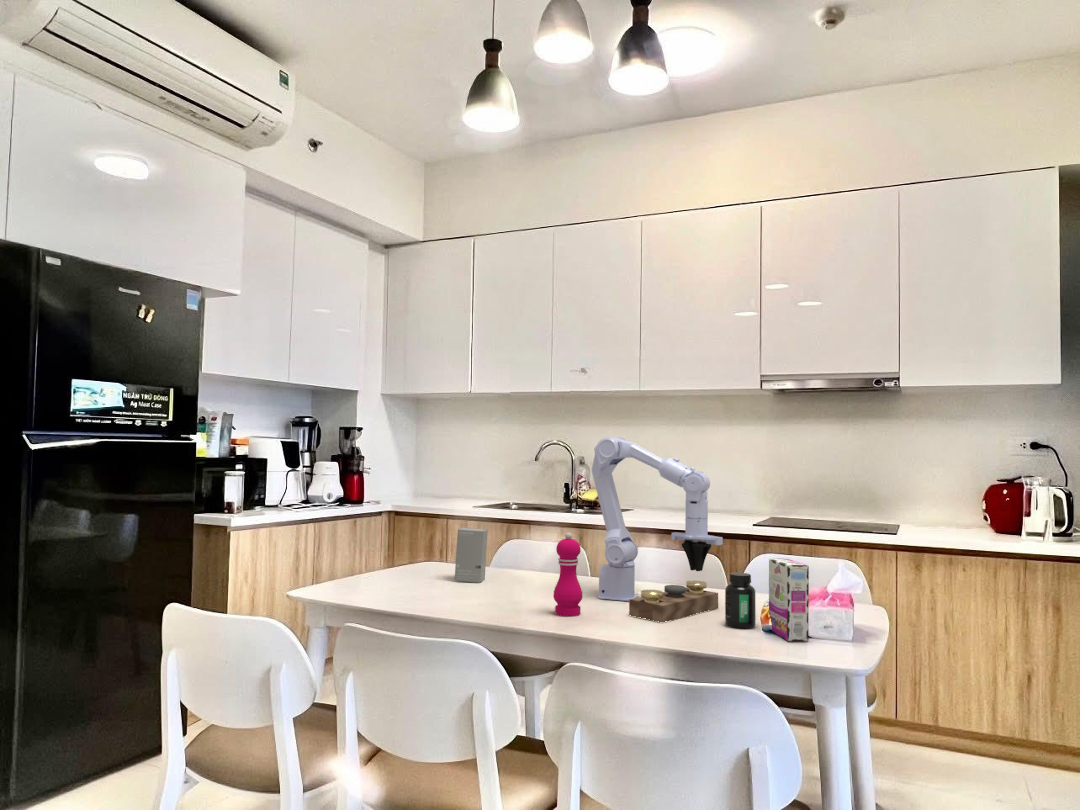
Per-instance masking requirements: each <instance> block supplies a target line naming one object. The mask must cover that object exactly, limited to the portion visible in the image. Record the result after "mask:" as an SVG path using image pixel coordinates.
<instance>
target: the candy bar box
mask: <svg viewBox="0 0 1080 810" xmlns="http://www.w3.org/2000/svg"><path fill="white" fill-rule="evenodd" d="M768 568H769V569H768V616H769V615H770V618H771V622H772V631H771V632H772V633H774V634H775V635H776V636H778V637H779V638H782V639H783V640H785V641H786V642H789V643H790V642H791V643H794V642H795V643H797V642H799V643H800V642H801V643H802V642H803V643H804V642H809V641H810V639H809V634H810V633H809V631H810V630H809V620H810V619H809V614H810V613H809V612H810V611H809V605H810V604H809V592H810V590H809V589H810V588H809V587H810V585H809V583H810V579H809V578H810V577H809V574H810V573H809V572H810V567H809V565H807V564H804V563H801V562H798V561H796V560H793V559H790V558H781V557H780V558H769V559H768Z"/></svg>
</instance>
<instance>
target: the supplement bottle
mask: <svg viewBox="0 0 1080 810" xmlns="http://www.w3.org/2000/svg"><path fill="white" fill-rule="evenodd" d="M728 580H729V582H730V583H729V584H728V585H726V587H725V589H724V591H725V592H724V593H725V594H724V599H725V600H724V605H725V607H724V610H725V611H724V616H725V617H724V620H725V622H724V623H725V625H726V626H727V627H728V628H732V629H737V630H750V629H754V628H755V627H756V617H757V616H756V610H757V609H756V589H755V587H754V586H753V585H751V583H752V575H751V574H750V573H748V572H747V573H746V572H730V573H729V579H728Z"/></svg>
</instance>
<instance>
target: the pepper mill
mask: <svg viewBox="0 0 1080 810" xmlns="http://www.w3.org/2000/svg"><path fill="white" fill-rule="evenodd" d="M564 537H565V538H562V539H561V540H560V541H558V543H557V544H556V553H557V555H558V557H559V558H558V565H559V578H558V579H557V580H558V581H557V582H556V584H555V586H554V590H553V600H554V601H555V602H556V605H555V606H554V611H555V612H554V614H555V615H557V616H560V615H561V617H576V615H577V616H579V614H581V606H580V605H579V604H580V603H581V602H582V600H583V597H584V596H583V590H582V587H581V585H580V583H579V579H578V575H577V566H578V565H579V558H578V556H579V555H580V554H581V544H580V543H579V542H578V540H575V539H574V538H573V535H572V532H566V533H565V534H564Z"/></svg>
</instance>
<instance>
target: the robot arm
mask: <svg viewBox="0 0 1080 810" xmlns="http://www.w3.org/2000/svg"><path fill="white" fill-rule="evenodd" d="M626 458H629V459H631V458H632V459H635V460H637V461H639V462H641V463H643V464H645V465H647V466H650V467H651V468H653V469H656V470H658V473H659V475H660V477H661V478H663V479H665V480H667V481H668V482H670V483H672V484H674V485H676V486H678V487H680V488H683V490H684V491H685V519H684V523H685V524H684V525H685V526H684V527H685V531H684V532H677V531H675V532H671V540H672V541H682V542H683V543H681V547H682V549H683V551H684V553H685V555H686V559H687V560H688V564H689V569H690V571H695V572H702V571H703V568H704V565H705V560H706V558H707V555H708V554H709V551H710V550H711V548H712V545H715V546H722V545H724V543H723V536H718V535H717V536H715V535H710V534H708V531H709V529H708V524H709V523H708V521H709V520H708V518H709V517H708V516H709V515H708V513H709V511H708V507H709V505H708V502H709V501H708V490H709V489H710V486H711V480H710V478H709V476H708V475H707V474H706V473H705V472H703V471H700V470H699V471H695V470H696V468H695V467H693V466H691V467H690V466H687V465H686V464H684V463H681V462H680V459H679V458H677V457H674V458H672V457H669V458H665V459H664V458H663V457H660V456H658V455H657V454H655V453H653V452H651V451H650V450H648V449H647V448H645V447H644V446H643V447H642V445H639V444H638V443H635V442H633V441H631V440H627V439H626V438H623V437H610V436H606V437H603V438H601V439H600V440H599V441H598V442H597V444H596V445H595V447H594V457H593V462H592V466H591V474H592V479H593V481H594V485H595V486H594V487H595V489H596V494H597V497H598V501H599V506H600V509H601V513H602V518H603V522H604V526H605V529H606V536H605V538H604V544H605V550H604V556H605V560H606V562H607V563H608V564H601V565H600V568H599V572H598V573H599V574H598V597H597V599H599V600H601V599H602V600H611V601H613V600H614V601H623V602H629V599H633V598H638V597H640V595H639V594H636V593H635V583H636V582H635V579H636V578H635V576H636V575H635V571H636V570H635V567H636V566H635V565H636V564H635V560H636V559H637V557H638V553H639V548H638V546H637V544H636V542H635V541H634V540H633V538H632V534H631V533H630V532H629V530H628V529H627V528H626V524H625V519H624V517H623V513H622V508H621V505H620V499H619V497H618V493H617V489H616V485H615V481H614V478H613V472H614V470H615V469H616V468H617V466H618V464H620V463H621V462H622V461H624V460H625V459H626Z"/></svg>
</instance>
